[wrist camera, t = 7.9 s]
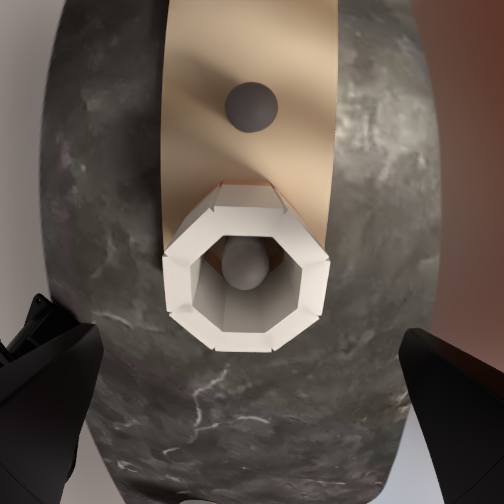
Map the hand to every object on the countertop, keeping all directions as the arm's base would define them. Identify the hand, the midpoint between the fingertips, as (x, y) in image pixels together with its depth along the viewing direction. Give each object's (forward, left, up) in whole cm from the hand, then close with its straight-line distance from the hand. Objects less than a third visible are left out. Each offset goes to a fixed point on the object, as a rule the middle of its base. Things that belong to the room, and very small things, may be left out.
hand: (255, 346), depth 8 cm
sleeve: (0, 0, -9) cm, 9 cm away
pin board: (+5, +4, -11) cm, 13 cm away
